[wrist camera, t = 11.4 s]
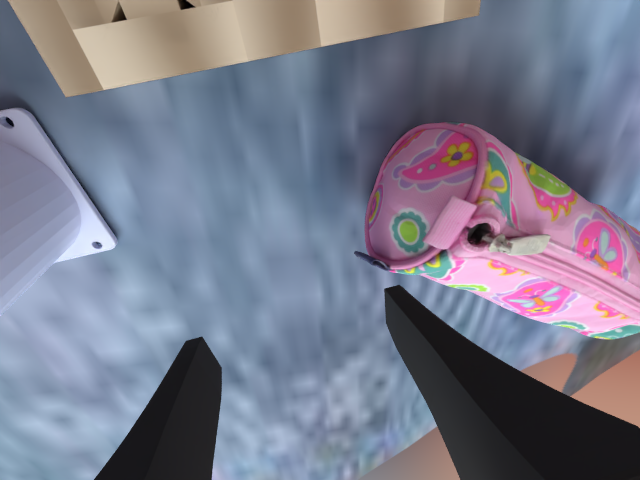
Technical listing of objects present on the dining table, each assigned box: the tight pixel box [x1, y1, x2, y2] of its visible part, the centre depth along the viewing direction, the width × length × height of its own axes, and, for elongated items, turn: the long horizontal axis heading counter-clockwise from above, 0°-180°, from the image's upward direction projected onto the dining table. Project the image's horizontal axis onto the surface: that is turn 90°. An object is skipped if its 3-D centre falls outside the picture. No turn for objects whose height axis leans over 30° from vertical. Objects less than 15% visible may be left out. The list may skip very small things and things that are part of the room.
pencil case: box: [354, 122, 640, 339], centre depth 19 cm, size 21×9×9 cm, turn 63°
